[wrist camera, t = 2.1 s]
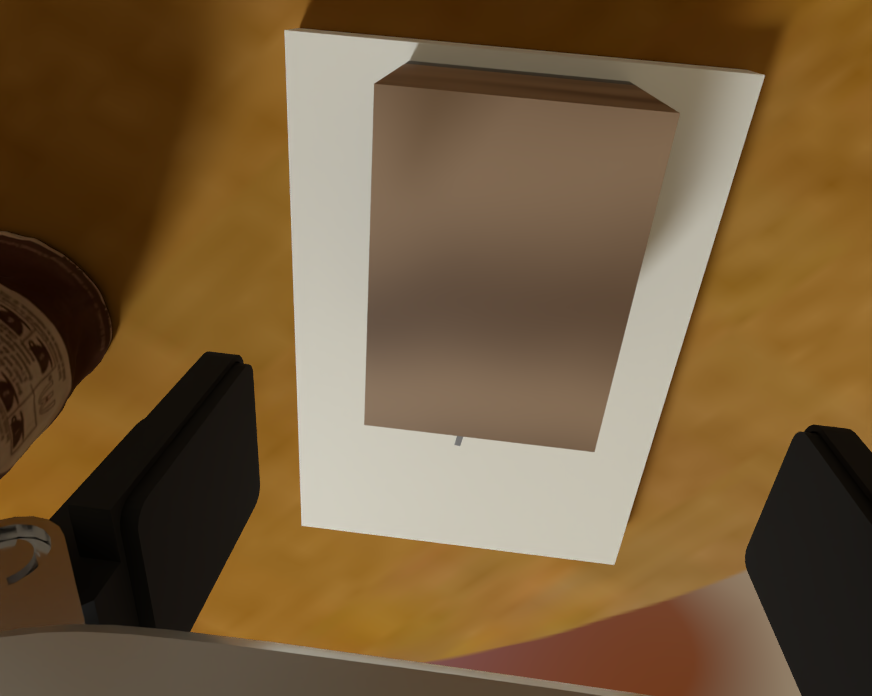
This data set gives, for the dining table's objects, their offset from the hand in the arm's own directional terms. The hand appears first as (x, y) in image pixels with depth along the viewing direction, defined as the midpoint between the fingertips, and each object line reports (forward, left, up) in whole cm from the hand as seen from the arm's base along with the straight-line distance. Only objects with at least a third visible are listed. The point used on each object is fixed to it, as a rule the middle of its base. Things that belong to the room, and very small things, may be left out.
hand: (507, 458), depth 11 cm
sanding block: (-1, 0, -12) cm, 12 cm away
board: (+4, 0, -13) cm, 14 cm away
